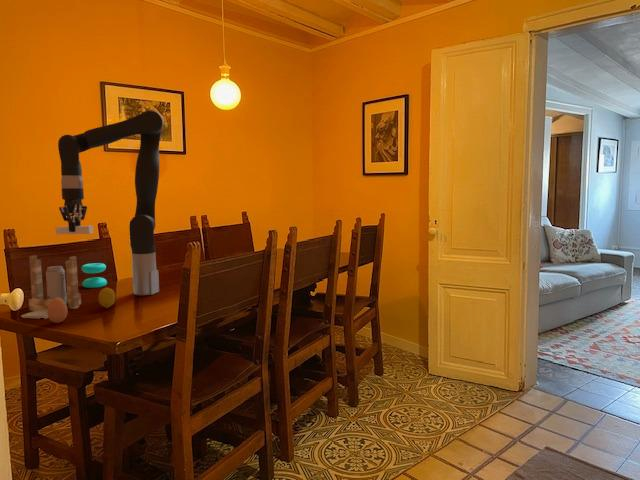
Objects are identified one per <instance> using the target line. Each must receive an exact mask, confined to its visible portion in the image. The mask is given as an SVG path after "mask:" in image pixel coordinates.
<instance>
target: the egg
mask: <svg viewBox="0 0 640 480" xmlns="http://www.w3.org/2000/svg"><path fill="white" fill-rule="evenodd" d="M68 309H69V308H68V304H66V303H65V302H64V301H63V300H62V299H61V298H54V299H53V300H51V301H50V303H49V305H48V308H47V315H48V317H49V318H48V319H49V321H51V322H52V323H55V324H60V323H62V322H63V321H64V320H65V319H66V318H67V316H68V313H69V312H68Z"/></svg>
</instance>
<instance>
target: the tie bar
mask: <svg viewBox="0 0 640 480" xmlns="http://www.w3.org/2000/svg"><path fill="white" fill-rule="evenodd" d="M54 229H55V235H57V236H58V235H59V236H61V235H90V234H94V225H81V226H75V232H69V225H67V226H66V225H65V226H63V225H62V226H55V228H54Z"/></svg>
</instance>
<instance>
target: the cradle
mask: <svg viewBox="0 0 640 480" xmlns="http://www.w3.org/2000/svg"><path fill="white" fill-rule="evenodd" d="M28 258H29V269H30V271H29V272H30V273H29V274H30V275H29V276H30V288H31V298H29V299H28V311H30V312H32V311H35V310H38V309H47V308H48V305H49V303H50V301H51V300H48V299H46V298H45V299H44V290H43V289H44V288H43V275H42V272H43V271H42V259H39V258H38V256H37V255H36V254H35V255H29V256H28ZM68 259H69V260H66V261H65V278H66V301H67V304H66V305H67V309H71V310H72V309H75V310H76V309H78V308H79V307H80V305H82V298H81V297H82V296H81V295H82V294H81V293H79V280H78V265H77V264H78V261H77V256H75V255H73V256H70V257H69V258H68Z"/></svg>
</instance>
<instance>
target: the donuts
mask: <svg viewBox="0 0 640 480" xmlns="http://www.w3.org/2000/svg"><path fill="white" fill-rule="evenodd" d="M106 268H107V265H106V264H105V263H101V262H96V263H95V262H94V263H93V262H92V263H86V264H83V265H81V271H82V272H83V273H86V274H99V273H102V272H104V271H105V270H106ZM107 284H108V281H107V279H106V278H104V277H98V276H97V277H88V278H86V279H84V280H83V281H82V287H84V288H86V289H96V288H102V287H106V286H107Z"/></svg>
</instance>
